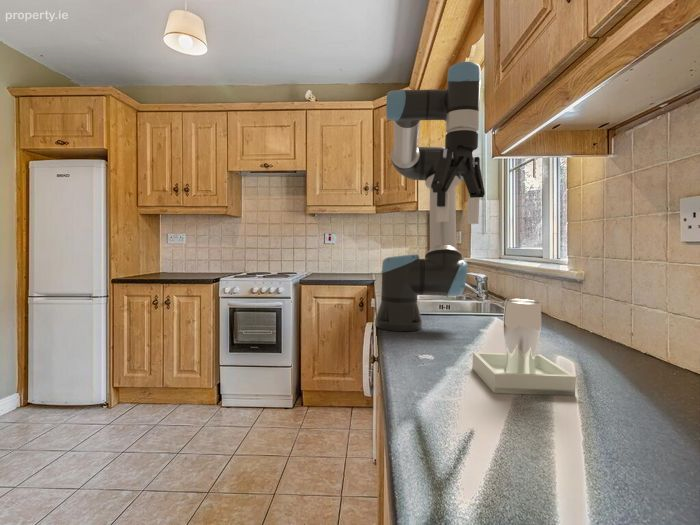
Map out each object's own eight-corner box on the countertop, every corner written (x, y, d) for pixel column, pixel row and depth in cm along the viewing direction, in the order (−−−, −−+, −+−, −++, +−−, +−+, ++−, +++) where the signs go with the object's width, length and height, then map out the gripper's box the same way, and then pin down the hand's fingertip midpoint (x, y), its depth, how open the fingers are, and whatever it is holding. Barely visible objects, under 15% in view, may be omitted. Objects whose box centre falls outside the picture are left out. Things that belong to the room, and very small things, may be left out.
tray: (472, 368, 89) (472, 352, 89) (539, 370, 89) (540, 354, 88) (494, 393, 74) (494, 374, 74) (575, 395, 74) (576, 376, 74)
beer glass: (535, 372, 84) (538, 300, 83) (541, 383, 77) (545, 304, 77) (499, 368, 86) (502, 298, 85) (502, 379, 79) (505, 302, 78)
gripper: (473, 144, 108) (470, 224, 109) (417, 124, 90) (414, 220, 92) (501, 139, 102) (497, 224, 104) (446, 118, 85) (442, 220, 86)
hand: (458, 222), depth 98 cm, fingers open, 13 cm apart
